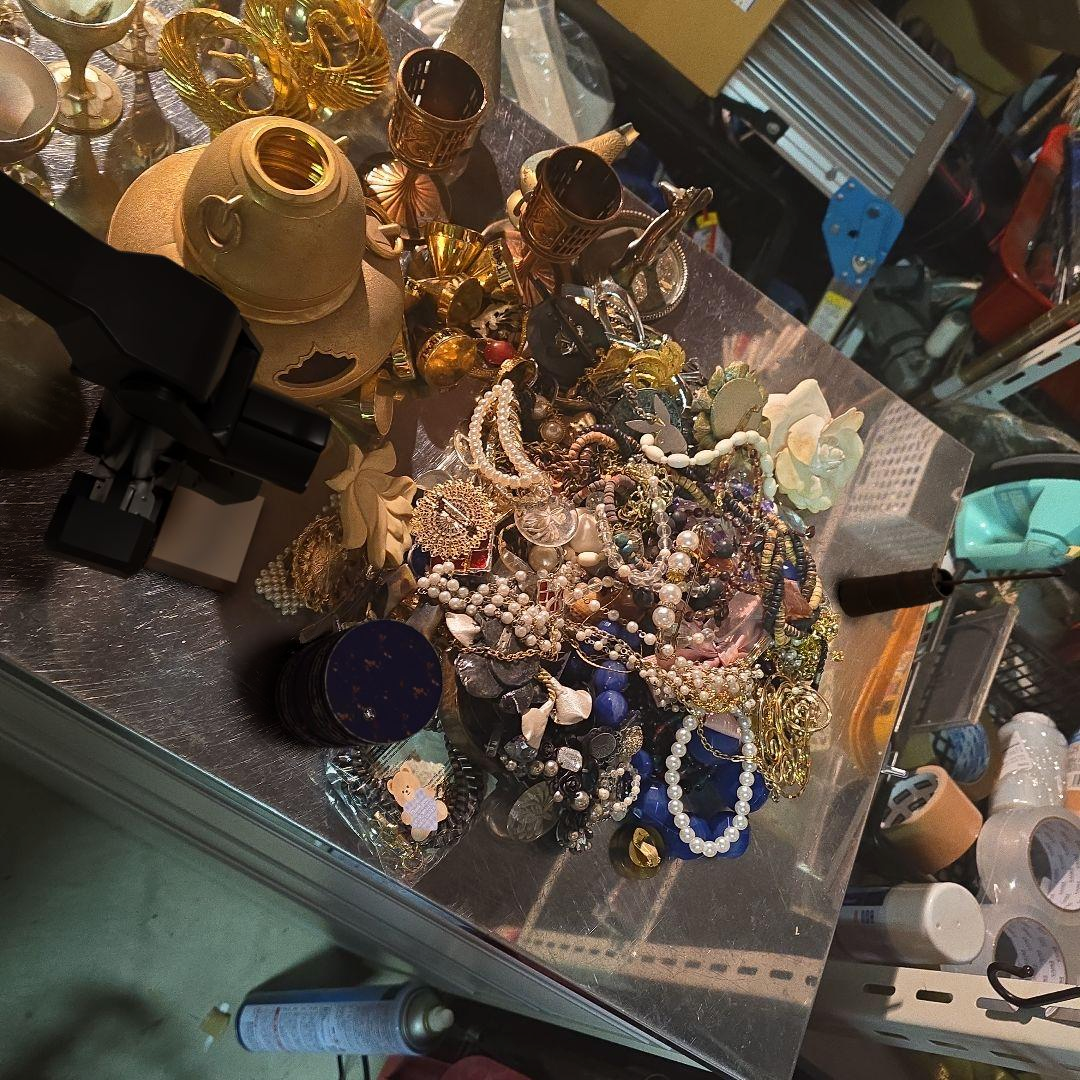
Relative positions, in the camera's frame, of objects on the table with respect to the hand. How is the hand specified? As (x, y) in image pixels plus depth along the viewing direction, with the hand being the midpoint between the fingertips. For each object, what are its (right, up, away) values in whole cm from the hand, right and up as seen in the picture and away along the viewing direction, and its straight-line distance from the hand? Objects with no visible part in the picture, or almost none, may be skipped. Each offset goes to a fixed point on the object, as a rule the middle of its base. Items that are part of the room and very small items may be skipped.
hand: (124, 474), depth 70 cm
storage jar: (+13, -19, +12) cm, 26 cm away
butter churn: (+73, -12, +49) cm, 89 cm away
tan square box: (+3, -5, +9) cm, 11 cm away
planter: (-2, -1, +4) cm, 4 cm away
